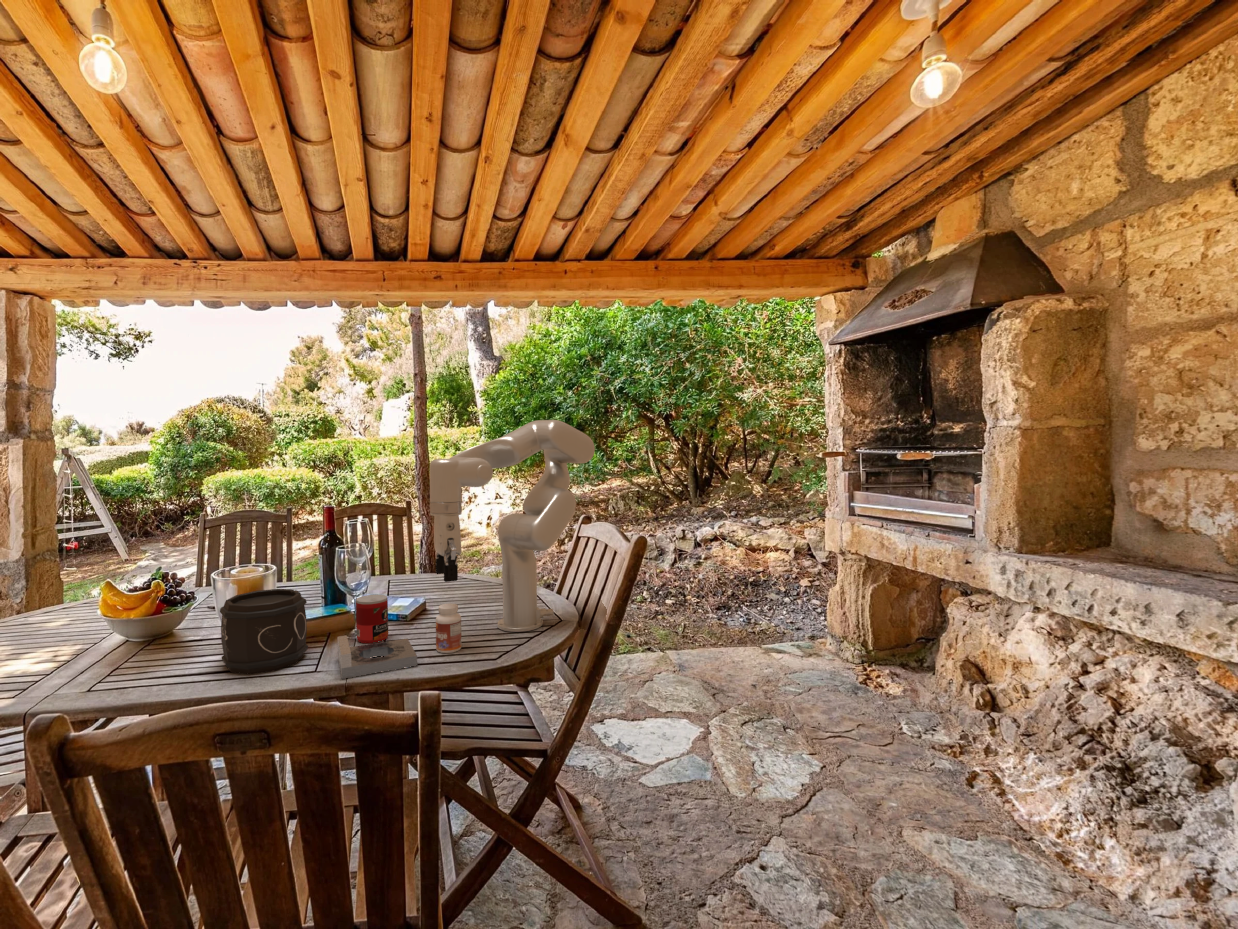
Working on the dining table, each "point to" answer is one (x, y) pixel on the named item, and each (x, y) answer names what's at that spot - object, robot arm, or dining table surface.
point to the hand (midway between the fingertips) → (446, 577)
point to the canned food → (372, 618)
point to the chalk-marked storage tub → (263, 630)
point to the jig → (360, 663)
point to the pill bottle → (448, 629)
